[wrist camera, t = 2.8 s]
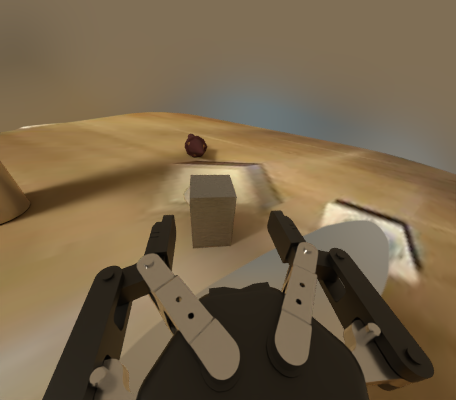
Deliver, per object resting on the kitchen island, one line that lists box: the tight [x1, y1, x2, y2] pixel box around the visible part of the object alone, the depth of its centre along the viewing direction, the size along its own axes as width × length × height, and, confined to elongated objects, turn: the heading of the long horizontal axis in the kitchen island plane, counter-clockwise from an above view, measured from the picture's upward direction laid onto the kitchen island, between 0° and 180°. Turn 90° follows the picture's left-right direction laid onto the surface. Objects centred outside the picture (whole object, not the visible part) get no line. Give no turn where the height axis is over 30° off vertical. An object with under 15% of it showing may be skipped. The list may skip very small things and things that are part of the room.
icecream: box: [185, 134, 207, 157], centre depth 58 cm, size 7×7×15 cm
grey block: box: [190, 175, 237, 248], centre depth 28 cm, size 6×6×10 cm
